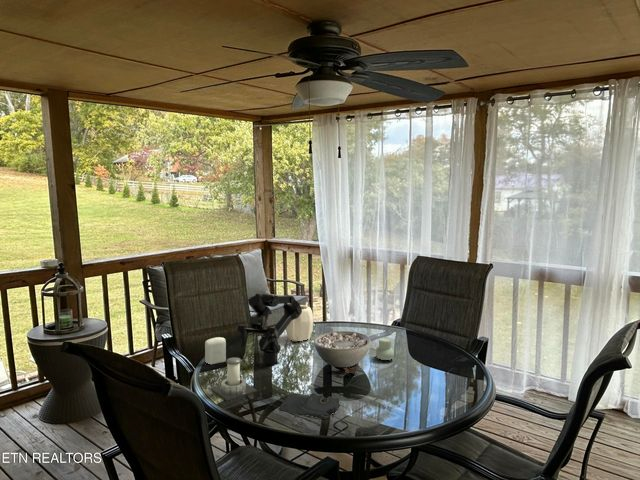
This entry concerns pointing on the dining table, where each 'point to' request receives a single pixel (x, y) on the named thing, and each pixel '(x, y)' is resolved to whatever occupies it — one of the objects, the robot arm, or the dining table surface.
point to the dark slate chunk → (310, 405)
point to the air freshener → (384, 349)
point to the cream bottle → (233, 371)
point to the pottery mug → (352, 369)
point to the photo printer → (215, 350)
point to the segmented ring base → (233, 390)
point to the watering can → (301, 325)
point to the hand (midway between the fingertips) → (252, 348)
